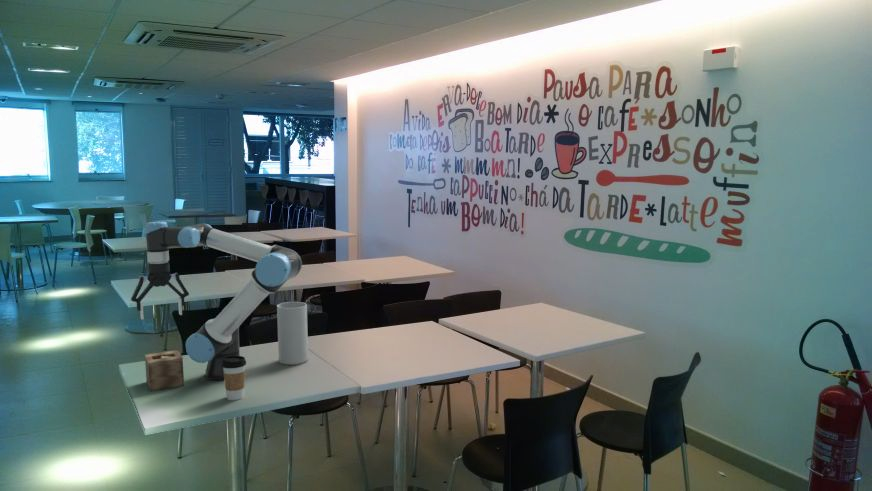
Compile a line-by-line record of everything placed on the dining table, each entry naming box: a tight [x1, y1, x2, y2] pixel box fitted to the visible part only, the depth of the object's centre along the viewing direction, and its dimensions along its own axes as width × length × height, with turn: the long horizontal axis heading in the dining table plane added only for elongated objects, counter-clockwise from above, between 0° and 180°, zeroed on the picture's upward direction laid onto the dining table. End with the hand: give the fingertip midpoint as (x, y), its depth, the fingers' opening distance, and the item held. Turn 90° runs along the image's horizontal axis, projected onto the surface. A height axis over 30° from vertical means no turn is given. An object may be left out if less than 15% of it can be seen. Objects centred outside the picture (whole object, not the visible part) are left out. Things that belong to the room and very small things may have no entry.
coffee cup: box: [222, 355, 247, 401], centre depth 220 cm, size 8×8×15 cm
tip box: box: [144, 349, 185, 392], centre depth 235 cm, size 12×12×11 cm
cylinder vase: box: [276, 301, 309, 366], centre depth 262 cm, size 12×12×25 cm
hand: (161, 316), depth 233 cm, fingers open, 13 cm apart
